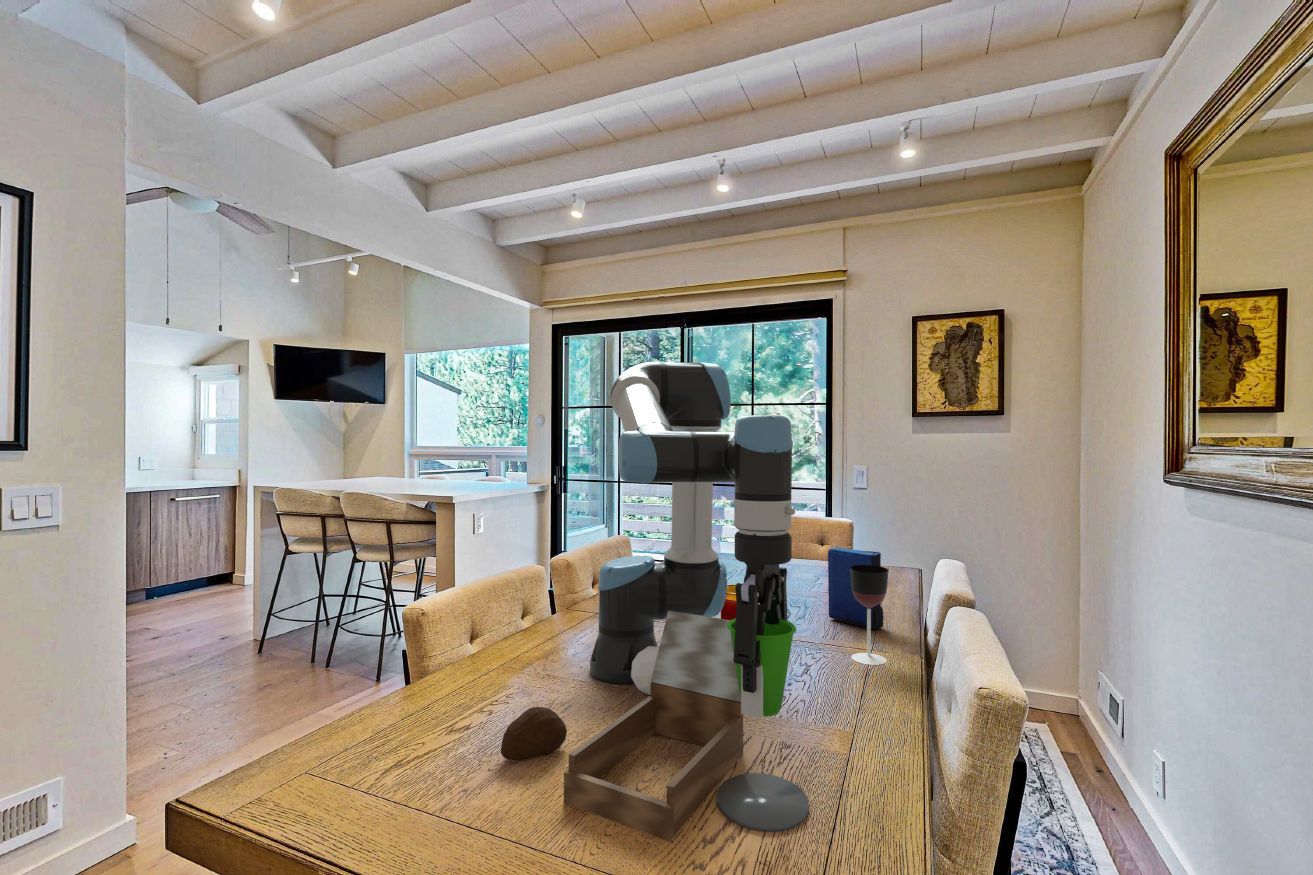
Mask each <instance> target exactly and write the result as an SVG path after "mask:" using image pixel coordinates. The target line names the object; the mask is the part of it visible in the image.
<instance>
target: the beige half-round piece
mask: <svg viewBox="0 0 1313 875" xmlns="http://www.w3.org/2000/svg"><path fill="white" fill-rule="evenodd" d="M658 651H659V646H658V647H654V646H648V647H647V648H645V649H644V650H642V651H641V652H639V653H638V654H637V656H636V657H635V659H634V660H633V662H632V670H631V678H632V679H633V681H634V683H633V684H634V685H635V686H636V688H637V689H638V690H639V691H640V692H642V693H644V694H645V695H649V696H650V683H652V682H651V679H652V675H653V671H654V667H655V663H656V659H657V655H658Z"/></svg>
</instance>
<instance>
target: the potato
mask: <svg viewBox="0 0 1313 875" xmlns="http://www.w3.org/2000/svg"><path fill="white" fill-rule="evenodd" d="M567 733H568V729H567V727H566V724H565V722H564V721H563V719H562V718H561V717H560V716H559V715H558V713H556V712H555V711H554V710H552V709H550V708H548V707H544V706H533V707H529V708H527V709H526V710H524V711H523V712H522V713H521V714H520V715H519V716H518V717H517V718H516V719H514V720H513V721H512V722H511V723H509V725H508V726H507V727H506V728H505V732H504V733H503V737H502V741H501V746H500V754H501V756H502V758H504V759H506V760H507V761H512V762H521V761H526V760H527V761H529V760H531V759H535V758H539V757H542V756H549V755H551V754H553V753H555V752H556V751H558V750H559V749H560V748H561V746H562V745H563V744H564V742H565V741H566V738H567Z"/></svg>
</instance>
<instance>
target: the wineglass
mask: <svg viewBox="0 0 1313 875" xmlns="http://www.w3.org/2000/svg"><path fill="white" fill-rule="evenodd" d="M850 574H851V587H852V592H853V595H854V597H855V598H856V600H857V601H858V602H859V603H861V604H862V605H864V606H865V607H866V608H867V627H866V641H867V642H866V652H857V653H854V654H851V656H850V658H851V659H852V660H853V661H855V662H857V663H860V664H865V665H868V666H870V665H872V666H876V665H877V666H878V665H884V664H886V663H887V661H888V660H887V658H885V657H884V656H882V655H880V654H875V653H871V651H872V650H871V649H872V648H871V643H872V640H871V636H872V634H871V633H872V631H871V630H872V629H871V608H872V607H874V606H876V605H878V604H880V603H881V604H882V602H883V601H884V599H885V597H886V595H887V591H888V583H889V569H888V568H886V567H884V566H881V567H880V566H874V565H854V566H851V567H850Z"/></svg>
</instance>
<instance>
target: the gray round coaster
mask: <svg viewBox="0 0 1313 875" xmlns="http://www.w3.org/2000/svg"><path fill="white" fill-rule="evenodd" d="M716 791H717V792H716V804H717V805H716V806H717V807H718V809H719V811H720V813H721V814H722V815H723V816H724V817H725V818H727V819H728V820H729V821H730V822H732V823H734V824H735V825H737V826H740V827H742V828H745V829H747V830H751V831H757V832H763V833H779V832H784V831H785V832H786V831H789V830H792V829H794V828H797V827H799V826H800V825H802V824H803V823H804V822H805V821H806V819H807V818H808V816H809V812H810V811H809V799H808V796H807V795H806V793H805V791H803V789H802V788H801V787H799V786H798V785H797V784H795V783H794V782H792V781H790V780H788V779H787V778H784V777H781V776H778V775H774V774H770V773H769V774H768V773H762V772H749V773H748V772H747V773H741V774H737V775H734V776H730V777H729V778H727V779H725V780H724V781H722V782H721V784H720V785H719V787H718V788H717V790H716Z"/></svg>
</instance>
